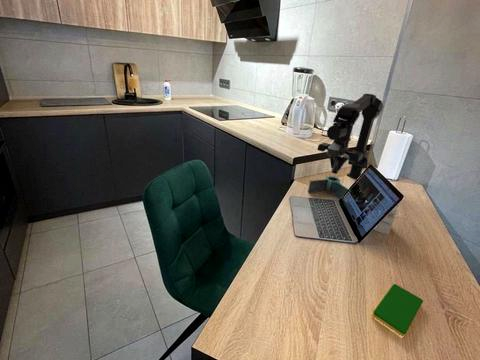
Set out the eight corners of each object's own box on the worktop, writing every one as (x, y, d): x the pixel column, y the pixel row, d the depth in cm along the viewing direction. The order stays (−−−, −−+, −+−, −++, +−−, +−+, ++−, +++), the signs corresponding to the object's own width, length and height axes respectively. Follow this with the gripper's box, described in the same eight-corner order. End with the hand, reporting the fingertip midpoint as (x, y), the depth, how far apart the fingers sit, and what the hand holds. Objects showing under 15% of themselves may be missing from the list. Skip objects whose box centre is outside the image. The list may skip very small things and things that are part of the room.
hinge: (321, 183, 130) (323, 172, 127) (354, 196, 120) (358, 184, 117) (307, 192, 121) (309, 180, 118) (342, 206, 110) (345, 194, 108)
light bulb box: (390, 226, 99) (399, 202, 94) (388, 235, 94) (398, 210, 89) (360, 217, 104) (367, 193, 99) (357, 225, 99) (365, 200, 94)
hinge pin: (333, 170, 122) (336, 154, 118) (338, 172, 120) (342, 156, 117) (330, 172, 120) (334, 155, 116) (336, 174, 118) (340, 157, 115)
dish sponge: (370, 318, 63) (373, 311, 62) (391, 289, 72) (394, 282, 71) (401, 340, 59) (405, 333, 57) (420, 306, 67) (423, 300, 66)
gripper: (314, 133, 113) (308, 167, 119) (357, 144, 102) (348, 180, 108) (326, 130, 120) (320, 161, 127) (367, 140, 109) (358, 174, 116)
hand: (335, 169), depth 119 cm, fingers closed on hinge pin, 3 cm apart
